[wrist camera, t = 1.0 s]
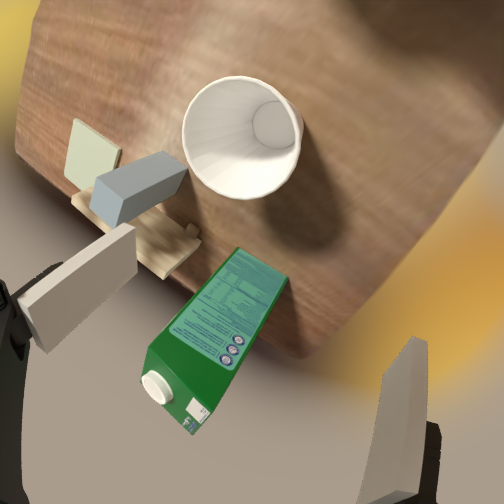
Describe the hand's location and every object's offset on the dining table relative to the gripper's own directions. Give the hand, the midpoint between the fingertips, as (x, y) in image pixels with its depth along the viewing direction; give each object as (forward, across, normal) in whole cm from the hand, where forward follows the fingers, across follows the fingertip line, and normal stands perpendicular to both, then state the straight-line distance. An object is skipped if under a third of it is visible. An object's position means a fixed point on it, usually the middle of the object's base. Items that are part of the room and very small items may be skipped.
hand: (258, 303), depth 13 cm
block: (+28, -24, -9) cm, 38 cm away
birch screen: (+28, -27, -17) cm, 43 cm away
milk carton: (+28, -8, -23) cm, 37 cm away
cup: (+29, -9, +1) cm, 30 cm away
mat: (+28, -43, -12) cm, 53 cm away
